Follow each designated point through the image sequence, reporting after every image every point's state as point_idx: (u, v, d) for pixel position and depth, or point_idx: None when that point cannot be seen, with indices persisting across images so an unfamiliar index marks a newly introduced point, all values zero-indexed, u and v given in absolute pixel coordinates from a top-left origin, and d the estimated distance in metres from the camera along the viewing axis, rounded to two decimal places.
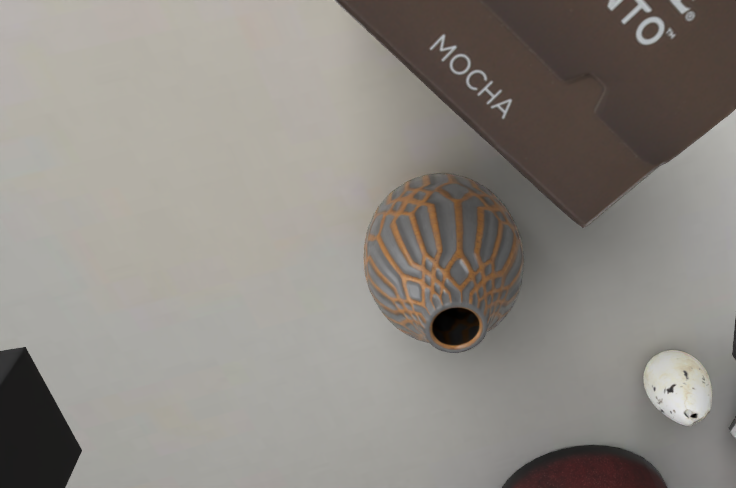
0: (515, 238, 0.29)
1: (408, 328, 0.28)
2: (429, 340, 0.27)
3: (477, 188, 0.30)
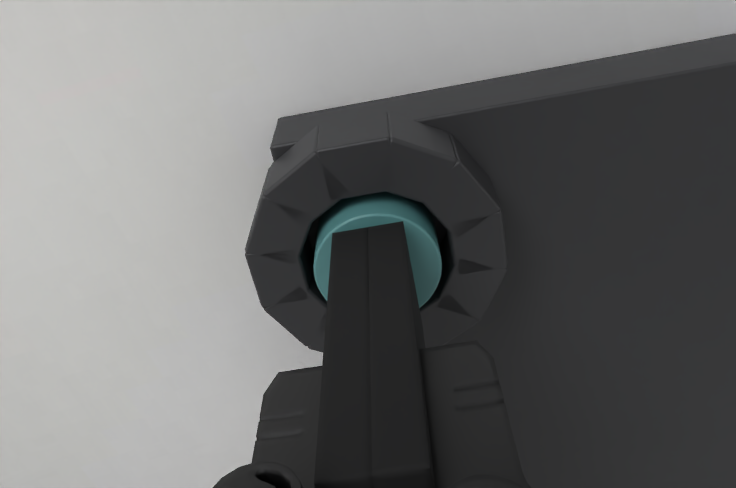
0: None
1: None
2: None
3: None
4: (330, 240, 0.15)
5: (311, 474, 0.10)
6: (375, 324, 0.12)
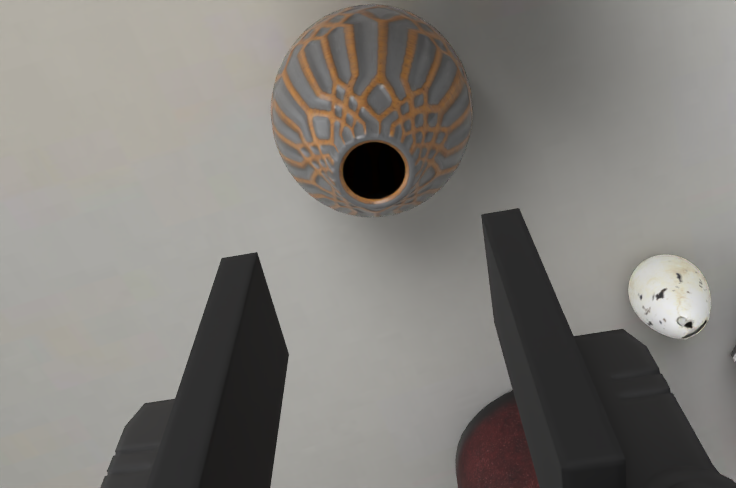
0: (459, 74, 0.22)
1: (319, 185, 0.22)
2: (340, 190, 0.20)
3: (413, 15, 0.23)
4: None
5: None
6: (520, 312, 0.11)
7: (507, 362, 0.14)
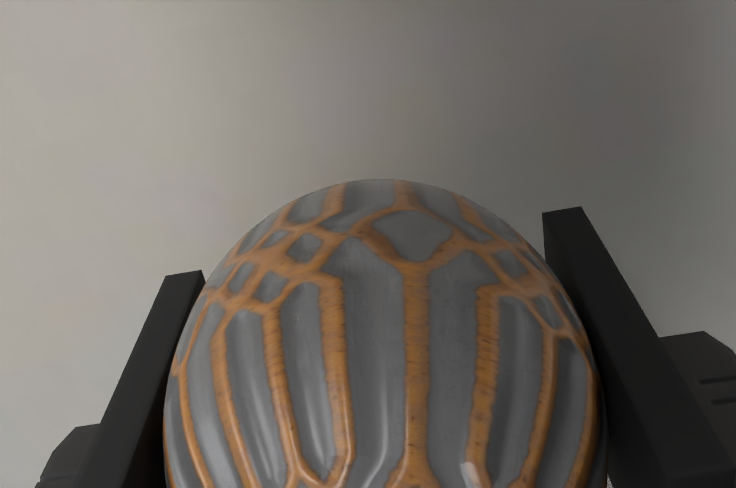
0: (591, 377, 0.10)
1: None
2: None
3: (477, 223, 0.10)
4: None
5: None
6: (598, 313, 0.11)
7: None
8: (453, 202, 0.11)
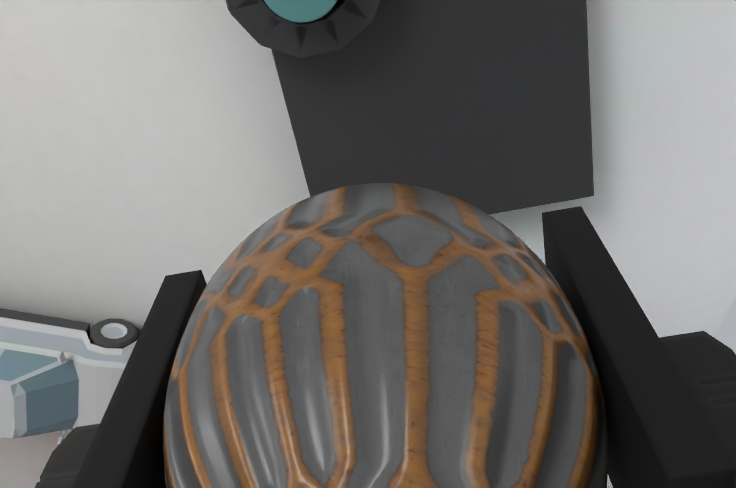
0: (590, 382, 0.10)
1: None
2: None
3: (477, 228, 0.10)
4: None
5: None
6: (598, 313, 0.11)
7: None
8: (453, 206, 0.11)
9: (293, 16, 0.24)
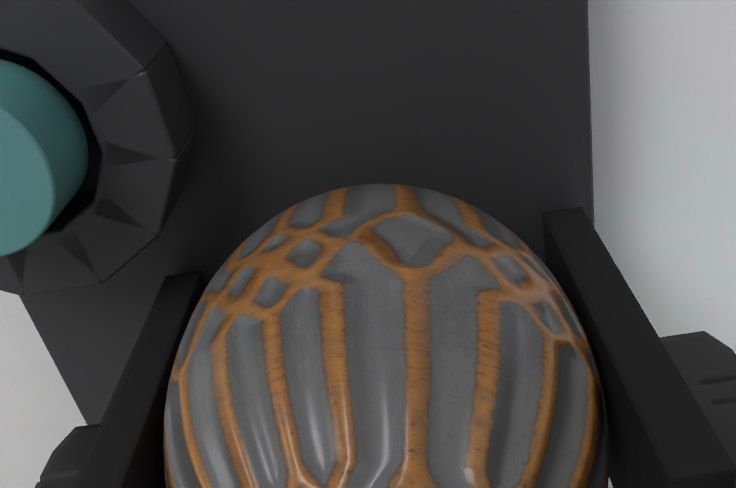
0: (591, 382, 0.10)
1: None
2: None
3: (478, 228, 0.10)
4: None
5: None
6: (598, 313, 0.11)
7: None
8: (454, 207, 0.11)
9: None
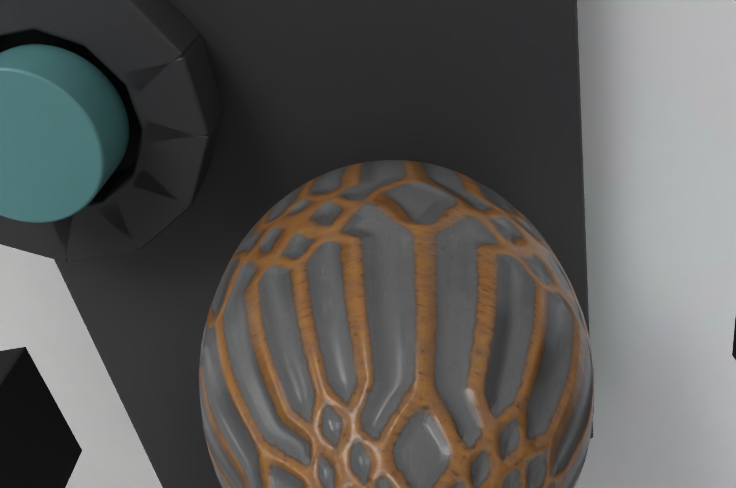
0: (578, 328, 0.11)
1: None
2: None
3: (478, 195, 0.12)
4: None
5: None
6: None
7: None
8: (457, 178, 0.12)
9: (20, 213, 0.12)
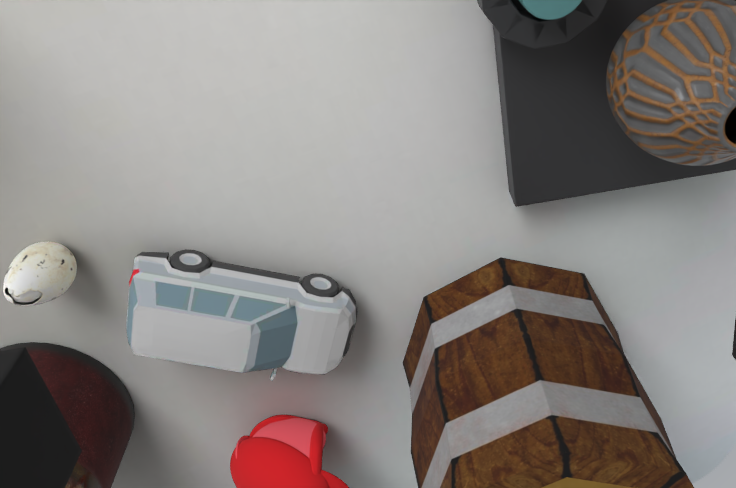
0: None
1: (682, 137, 0.28)
2: (720, 137, 0.26)
3: None
4: None
5: None
6: None
7: None
8: None
9: (543, 15, 0.30)
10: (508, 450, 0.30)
